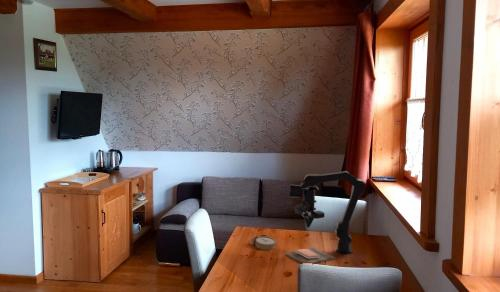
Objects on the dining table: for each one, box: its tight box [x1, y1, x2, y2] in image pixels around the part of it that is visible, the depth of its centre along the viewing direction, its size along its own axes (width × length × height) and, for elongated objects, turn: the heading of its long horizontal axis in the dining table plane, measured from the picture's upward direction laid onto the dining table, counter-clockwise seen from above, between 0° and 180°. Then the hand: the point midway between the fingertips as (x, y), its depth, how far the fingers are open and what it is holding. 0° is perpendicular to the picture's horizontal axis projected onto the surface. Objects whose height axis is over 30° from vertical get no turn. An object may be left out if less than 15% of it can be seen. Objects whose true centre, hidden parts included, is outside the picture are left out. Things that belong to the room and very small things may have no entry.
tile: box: [295, 248, 319, 259], centre depth 194 cm, size 7×10×1 cm
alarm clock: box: [251, 234, 278, 251], centre depth 211 cm, size 11×5×15 cm
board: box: [285, 246, 335, 265], centre depth 195 cm, size 18×16×1 cm
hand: (308, 227), depth 205 cm, fingers closed
